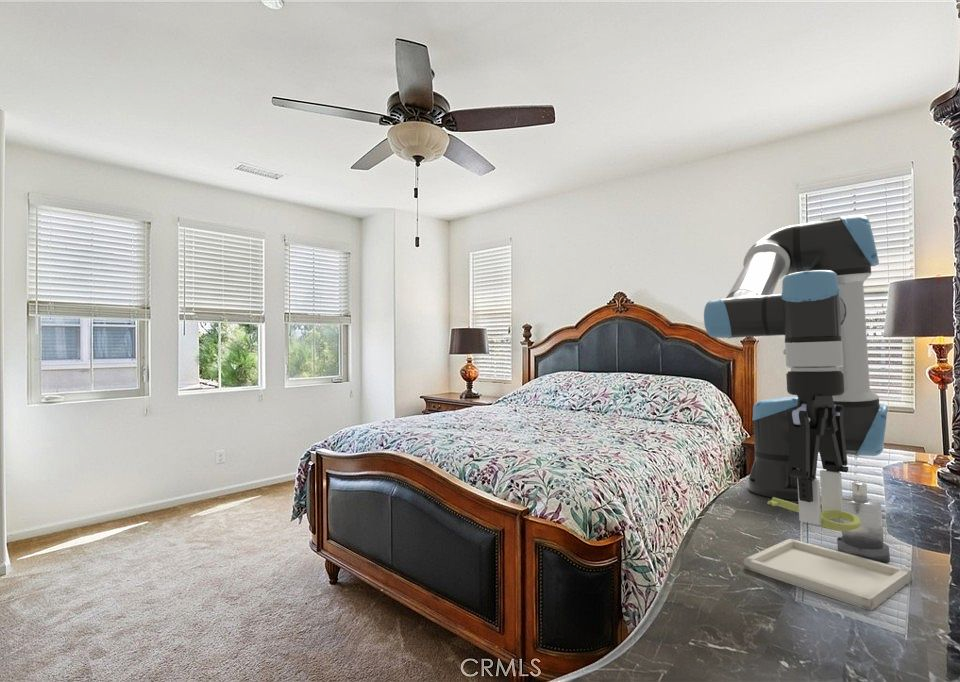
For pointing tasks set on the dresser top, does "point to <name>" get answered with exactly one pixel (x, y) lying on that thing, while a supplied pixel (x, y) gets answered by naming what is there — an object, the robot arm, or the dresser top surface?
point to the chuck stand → (864, 527)
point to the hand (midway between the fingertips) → (821, 517)
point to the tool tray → (830, 572)
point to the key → (824, 516)
